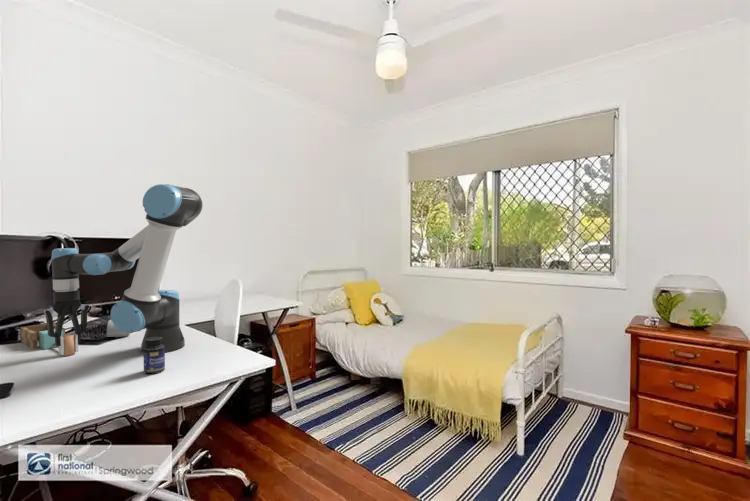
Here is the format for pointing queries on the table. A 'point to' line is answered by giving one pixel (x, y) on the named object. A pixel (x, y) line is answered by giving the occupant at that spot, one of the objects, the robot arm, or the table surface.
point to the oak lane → (33, 334)
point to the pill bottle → (154, 355)
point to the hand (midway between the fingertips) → (68, 352)
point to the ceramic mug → (114, 331)
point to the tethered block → (49, 342)
